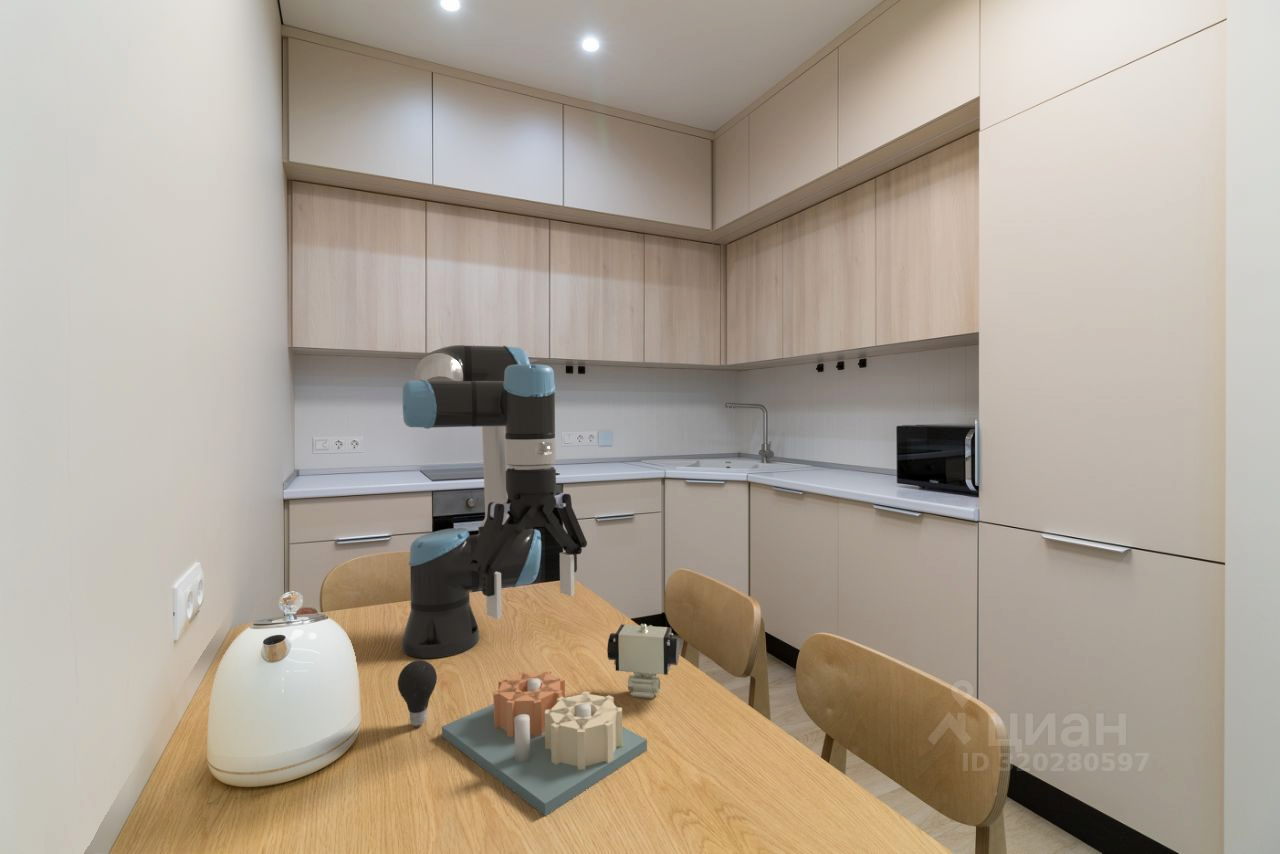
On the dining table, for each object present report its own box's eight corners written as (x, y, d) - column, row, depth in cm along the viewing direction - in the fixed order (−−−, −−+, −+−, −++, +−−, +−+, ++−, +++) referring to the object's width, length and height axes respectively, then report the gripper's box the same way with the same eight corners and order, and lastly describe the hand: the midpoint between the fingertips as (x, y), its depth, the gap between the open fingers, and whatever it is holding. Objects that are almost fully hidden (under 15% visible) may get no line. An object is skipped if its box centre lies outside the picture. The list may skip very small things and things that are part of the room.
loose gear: (482, 719, 87) (481, 686, 87) (537, 694, 95) (537, 664, 94) (521, 745, 80) (520, 710, 80) (577, 717, 87) (577, 685, 87)
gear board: (442, 736, 85) (441, 690, 85) (539, 692, 98) (539, 652, 98) (545, 816, 68) (544, 758, 68) (647, 749, 81) (646, 701, 81)
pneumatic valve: (676, 704, 94) (675, 631, 94) (607, 697, 96) (606, 627, 96) (680, 688, 100) (680, 619, 99) (615, 682, 102) (614, 615, 102)
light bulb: (445, 719, 90) (444, 656, 90) (420, 738, 85) (419, 672, 85) (416, 713, 92) (415, 652, 92) (390, 732, 87) (389, 667, 86)
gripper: (470, 475, 75) (472, 634, 76) (607, 461, 94) (608, 590, 94) (442, 471, 81) (444, 620, 81) (577, 459, 99) (578, 581, 99)
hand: (532, 604), depth 88 cm, fingers open, 13 cm apart
